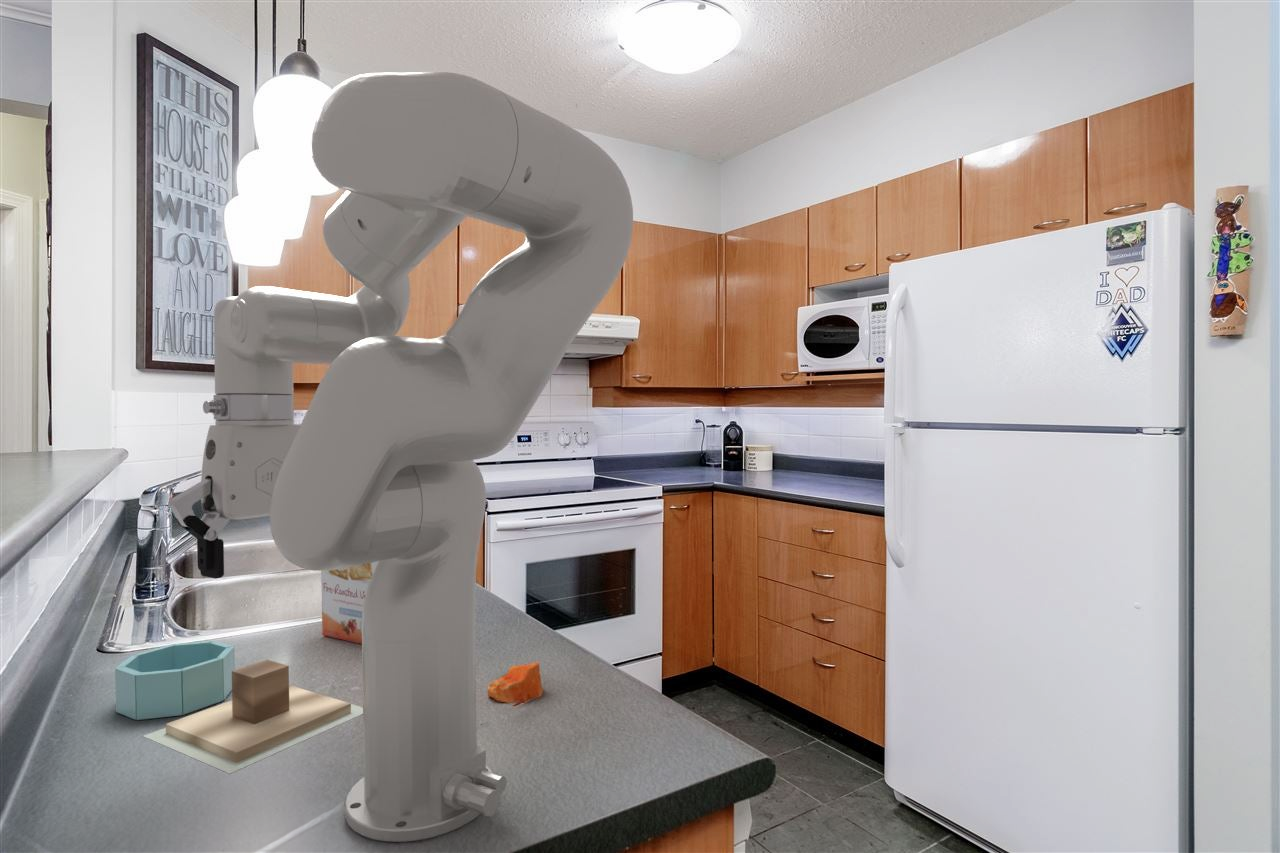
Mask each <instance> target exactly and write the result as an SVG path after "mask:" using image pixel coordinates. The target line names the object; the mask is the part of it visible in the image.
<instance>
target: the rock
mask: <svg viewBox="0 0 1280 853" xmlns="http://www.w3.org/2000/svg"><path fill="white" fill-rule="evenodd" d="M540 670H541V669H540V662H539V661H535V662H532V663H527V664H516V665H513V666H511V667H510V668H509V669H508V672H507V673H506V674H505V675H504V676H502V677H500V678H496V679H495V680H493V681H491V682H490V683H489V684H488V686H487V696H488V697H491V698H493V699H494V700H495V701H497V702H500V703H507V704H510V703H515V704H513V705H512V707H516V706H518V705H521V704H525V703H527V702H528V701H531V700H533V699H537V698H541V696H542V695H543V692H544V690H543V686H542V680H541V677H542V676H541V673H540V672H541V671H540Z"/></svg>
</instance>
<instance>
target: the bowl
mask: <svg viewBox="0 0 1280 853" xmlns="http://www.w3.org/2000/svg"><path fill="white" fill-rule="evenodd" d="M235 657H236V656H235V646H234V645H232V644H228V643H224V642H221V641H217V640H203V641H191V642H181V643H172V644H168V645H164V646H161V647H156V648H154V649H153V648H152V649H149V650H146V651H145V650H144V651H143V652H139V653H135V654H132V655H131V656H129V657H128V658H126V659H125V660H124V661H122V662H121V663H120V664H118V665H117V666H116V667H115V668H114V670H115V671H114V675H115V676H114V678H115V681H114V682H115V712H116V713H118V714H120V715H123V716H125V717H127V718H130V719H133V720H136V721H139V720H150V719H159V718H167V717H176V716H177V717H178V716H183V715H186V714H190V713H193V712H196V711H198V710H200V709H203V708H204V709H205V708H207V707H209V706H213V705H214V704H217V703H220V702H222V701H225V700H226V698H228V696H229V694H230V693H232V671H234V670H236V667H235V665H236V664H235V663H236V662H235V659H236V658H235Z"/></svg>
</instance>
